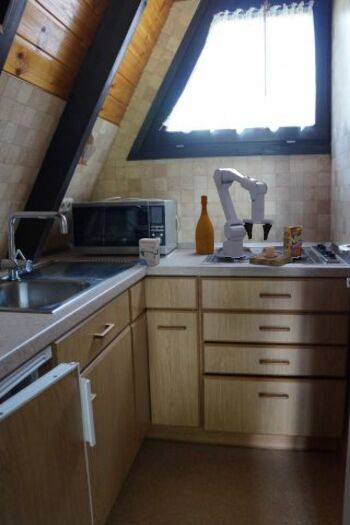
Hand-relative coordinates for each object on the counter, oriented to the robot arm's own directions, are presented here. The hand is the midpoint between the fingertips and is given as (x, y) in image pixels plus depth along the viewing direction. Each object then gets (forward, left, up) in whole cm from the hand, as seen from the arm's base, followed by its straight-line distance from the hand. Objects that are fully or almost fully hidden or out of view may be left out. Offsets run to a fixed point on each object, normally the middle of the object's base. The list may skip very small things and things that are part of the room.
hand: (257, 239), depth 193 cm
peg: (+5, +3, -10) cm, 12 cm away
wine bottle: (-35, +9, -11) cm, 38 cm away
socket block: (+5, +3, -10) cm, 12 cm away
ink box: (-41, -28, -11) cm, 51 cm away
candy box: (+10, +16, -11) cm, 22 cm away
